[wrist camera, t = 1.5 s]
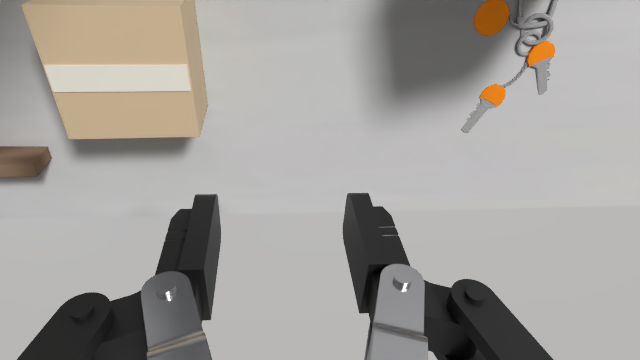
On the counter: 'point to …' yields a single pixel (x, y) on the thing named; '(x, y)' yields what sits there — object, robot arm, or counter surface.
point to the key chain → (492, 21)
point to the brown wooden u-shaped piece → (23, 161)
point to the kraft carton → (122, 66)
